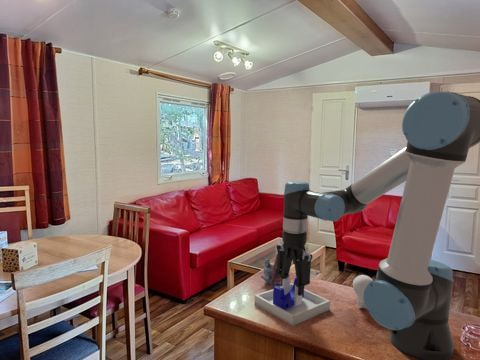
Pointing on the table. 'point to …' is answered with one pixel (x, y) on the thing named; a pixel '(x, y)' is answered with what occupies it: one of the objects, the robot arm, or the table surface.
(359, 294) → the light bulb
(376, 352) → the table surface
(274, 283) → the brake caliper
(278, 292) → the blue curved block
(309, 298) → the kit tray
